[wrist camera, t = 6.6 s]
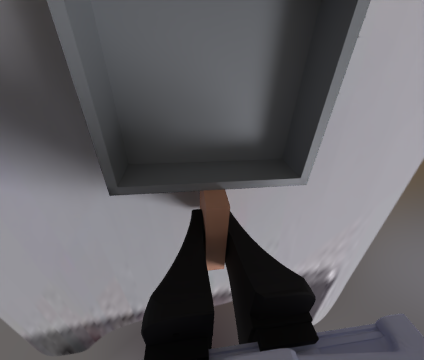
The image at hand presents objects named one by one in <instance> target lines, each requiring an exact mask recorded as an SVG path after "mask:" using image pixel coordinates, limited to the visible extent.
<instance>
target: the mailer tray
mask: <svg viewBox="0 0 424 360" xmlns="http://www.w3.org/2000/svg"><path fill="white" fill-rule="evenodd" d="M370 1H371V0H47V3H48V6H49V9H50V13H51V16H52V19H53V22H54V25H55V28H56V31H57V34H58V37H59V40H60V43H61V47H62V50H63V53H64V56H65V59H66V62H67V65H68V68H69V71H70V74H71V77H72V81H73V84H74V87H75V90H76V93H77V96H78V99H79V102H80V105H81V108H82V111H83V115H84V118H85V121H86V124H87V127H88V130H89V133H90V136H91V139H92V142H93V145H94V149H95V152H96V155H97V158H98V161H99V164H100V167H101V170H102V173H103V176H104V179H105V182H106V186H107V189H108V192H109V195H110V196H112V195H131V194H149V193H168V192H186V191H200V209H202V213H203V240H204V250H205V257H206V263H207V270H216V269H224V264H225V254H226V244H227V234H228V224H229V214H230V204H229V201H228V198H227V195H226V192H225V189H241V188H260V187H278V186H296V185H307V182H308V179H309V176H310V173H311V170H312V168H313V165H314V162H315V159H316V156H317V153H318V150H319V147H320V144H321V142H322V139H323V136H324V133H325V130H326V127H327V124H328V121H329V119H330V116H331V113H332V110H333V107H334V104H335V101H336V98H337V96H338V93H339V90H340V87H341V84H342V81H343V78H344V75H345V73H346V70H347V67H348V64H349V61H350V58H351V55H352V52H353V50H354V47H355V44H356V41H357V38H358V35H359V32H360V29H361V27H362V24H363V21H364V18H365V15H366V12H367V9H368V6H369V4H370Z"/></svg>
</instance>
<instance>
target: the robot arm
mask: <svg viewBox="0 0 424 360" xmlns="http://www.w3.org/2000/svg"><path fill="white" fill-rule="evenodd" d="M225 264H226V267H227V271H228V276H229V281H230V287H231V292H232V299H233V305H234V311H235V318H236V325H237V331H238V339H239V345H234V346H228V347H221V348H214V349H211V346H212V336H213V324H214V306H213V299H212V293H211V288H210V282H209V276H208V270H207V263H206V257H205V250H204V240H203V213H202V209H197V210H192V216H191V221H190V225H189V228H188V232H187V235H186V237H185V240H184V242H183V245H182V247H181V249H180V251H179V253H178V255H177V257H176V259H175V261H174V263H173V264H172V266H171V268H170V269H169V271H168V272H167V274H166V276H165V277H164V279H163V280H162V282H161V283H160V284H159V286H158V287H157V288H156V290H155V291H154V292H153V294H152V295H151V297H150V299H149V302H148V304H147V307H146V310H145V313H144V317H143V322H142V330H141V334H142V337H143V339H144V342H145V344H146V349H145V356H144V360H424V337H423V335H422V334H421V333H420V332H419V331H418V329H417V328H416V327H415V326H414V325H413V324H412V323H411V321H410V320H409V319H408V318H407V317H406V315H405V314H402V313H401V314H394V315H388V316H384V317H381V318H380V319H378V320H377V321H376V323H375V324H369V325H363V326H357V327H350V328H344V329H337V330H330V331H325V332H318V333H316V331H315V329H314V327H313V325H312V323H311V322H312V317H311V315H310V313H309V311H310V310H311V308H312V306H313V305H314V302H315V300H316V299H315V295H314V293H313V292H312V290H311V288H310V287H309V285H308V284H307V282H306V281H305V279H304V278H303V277H301V276H299V275H298V274H296V273H295V272H293V271H291V270H290V269H288V268H287V267H285V266H284V265H282V264H281V263H279V262H278V261H277V260H276V259H274V258H273V257H272V256H270V255H269V254H268V253H267V252H266V251H264V250H263V249H262V248H261V247H260V246H259V245H258V244H257V243H256V242H255V241H254V240H253V239H252V238H251V237H250V236H249V235H248V234H247V232H246V231H245V230H244V229H243V228H242V226H241V225H240V224H239V223H238V221H237V220H236V219H235V217H234V216H233V215H232V213H231V212H230V214H229V224H228V234H227V244H226V254H225Z"/></svg>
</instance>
